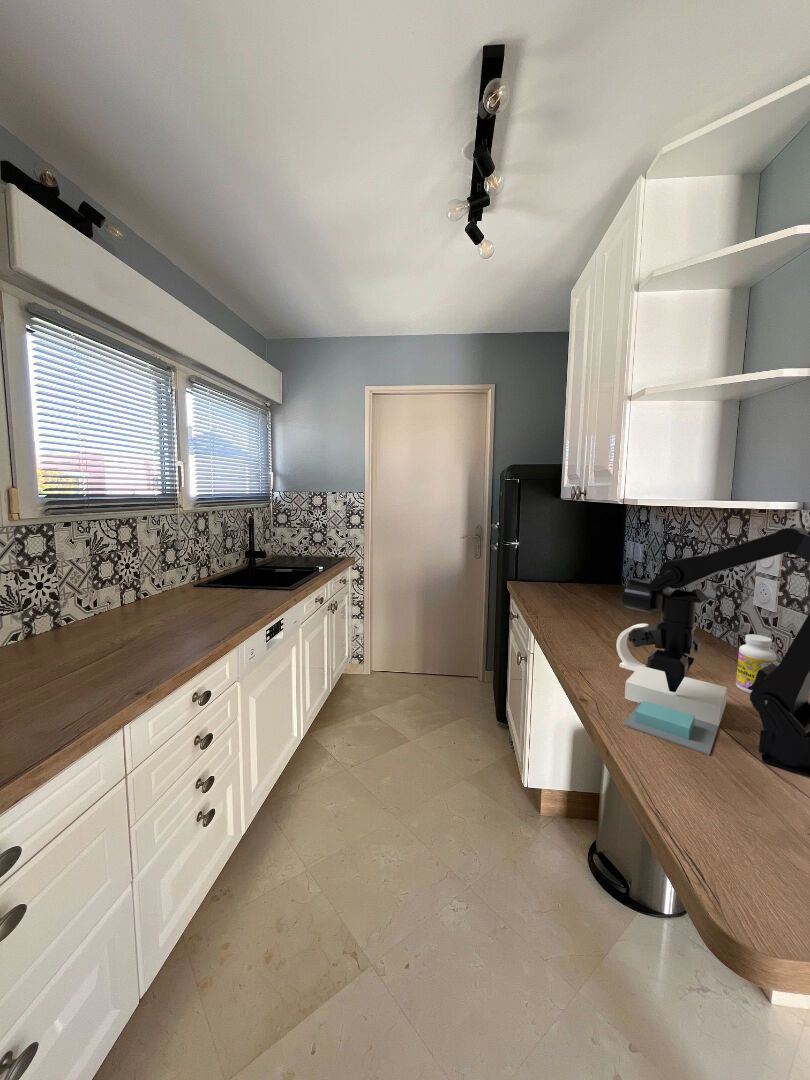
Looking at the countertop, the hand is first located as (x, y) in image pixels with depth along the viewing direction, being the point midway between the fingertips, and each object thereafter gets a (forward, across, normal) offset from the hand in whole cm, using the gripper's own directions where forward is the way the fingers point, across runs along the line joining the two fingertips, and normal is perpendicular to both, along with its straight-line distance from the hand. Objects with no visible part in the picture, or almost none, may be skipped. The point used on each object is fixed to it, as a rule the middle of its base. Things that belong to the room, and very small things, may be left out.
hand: (672, 691), depth 86 cm
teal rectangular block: (+2, +6, 0) cm, 7 cm away
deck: (+5, -6, 0) cm, 8 cm away
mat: (+5, +6, +1) cm, 8 cm away
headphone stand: (+5, -20, -13) cm, 24 cm away
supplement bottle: (+5, -25, +12) cm, 28 cm away
